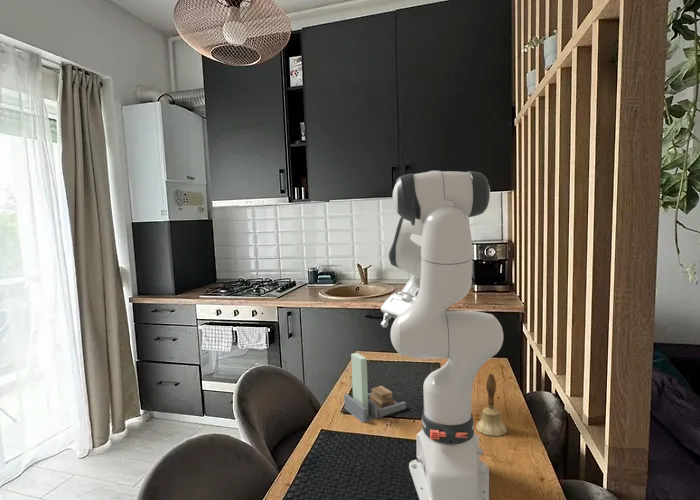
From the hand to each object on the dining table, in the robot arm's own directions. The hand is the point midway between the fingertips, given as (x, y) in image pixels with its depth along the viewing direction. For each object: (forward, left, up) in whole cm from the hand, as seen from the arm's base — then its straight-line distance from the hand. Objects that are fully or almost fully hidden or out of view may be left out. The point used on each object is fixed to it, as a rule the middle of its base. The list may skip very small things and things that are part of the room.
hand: (391, 329), depth 130 cm
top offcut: (-3, +4, -22) cm, 22 cm away
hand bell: (-13, -28, -25) cm, 40 cm away
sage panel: (-8, +10, -24) cm, 27 cm away
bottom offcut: (-3, +4, -24) cm, 24 cm away
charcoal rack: (-5, +6, -25) cm, 26 cm away
